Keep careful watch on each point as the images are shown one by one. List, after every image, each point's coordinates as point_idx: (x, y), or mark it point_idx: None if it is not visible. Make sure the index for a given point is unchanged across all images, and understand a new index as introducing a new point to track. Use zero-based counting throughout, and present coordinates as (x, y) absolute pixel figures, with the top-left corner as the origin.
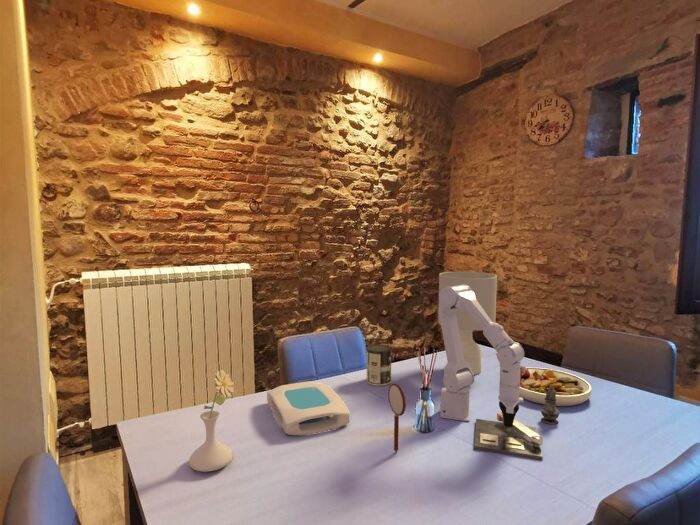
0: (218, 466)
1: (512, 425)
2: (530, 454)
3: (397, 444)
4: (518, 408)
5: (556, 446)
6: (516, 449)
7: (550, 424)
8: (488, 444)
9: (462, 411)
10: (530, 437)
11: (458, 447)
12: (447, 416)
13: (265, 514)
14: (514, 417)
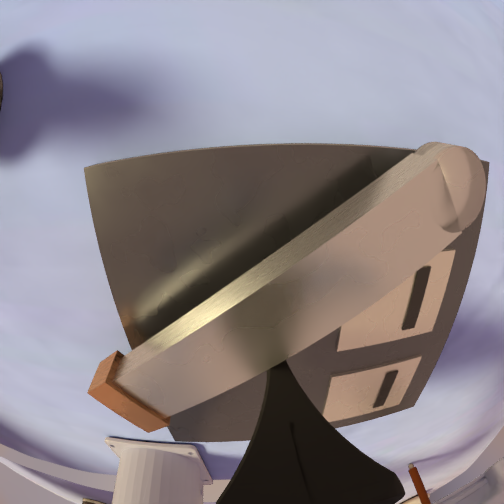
0: (428, 495)
1: (270, 360)
2: (480, 220)
3: (419, 476)
4: (398, 494)
5: (310, 31)
6: (447, 284)
7: (1, 91)
8: (408, 382)
9: (189, 483)
10: (452, 238)
11: (395, 424)
12: (203, 477)
13: (485, 447)
14: (321, 417)
